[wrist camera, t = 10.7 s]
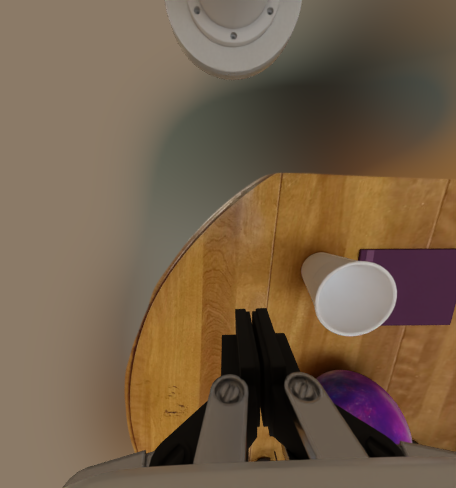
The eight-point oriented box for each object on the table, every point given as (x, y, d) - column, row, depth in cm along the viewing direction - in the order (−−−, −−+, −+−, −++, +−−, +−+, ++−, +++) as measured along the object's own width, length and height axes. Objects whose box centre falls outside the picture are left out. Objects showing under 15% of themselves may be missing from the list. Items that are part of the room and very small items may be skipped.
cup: (332, 303, 39) (373, 345, 28) (280, 286, 38) (302, 323, 27) (358, 251, 37) (413, 276, 26) (303, 232, 36) (336, 250, 25)
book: (359, 249, 36) (361, 250, 36) (466, 248, 37) (470, 249, 36) (349, 324, 40) (350, 326, 39) (447, 323, 40) (450, 325, 39)
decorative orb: (310, 341, 40) (359, 426, 26) (383, 363, 42) (467, 455, 27) (280, 403, 44) (307, 510, 29) (347, 422, 45) (406, 532, 30)
